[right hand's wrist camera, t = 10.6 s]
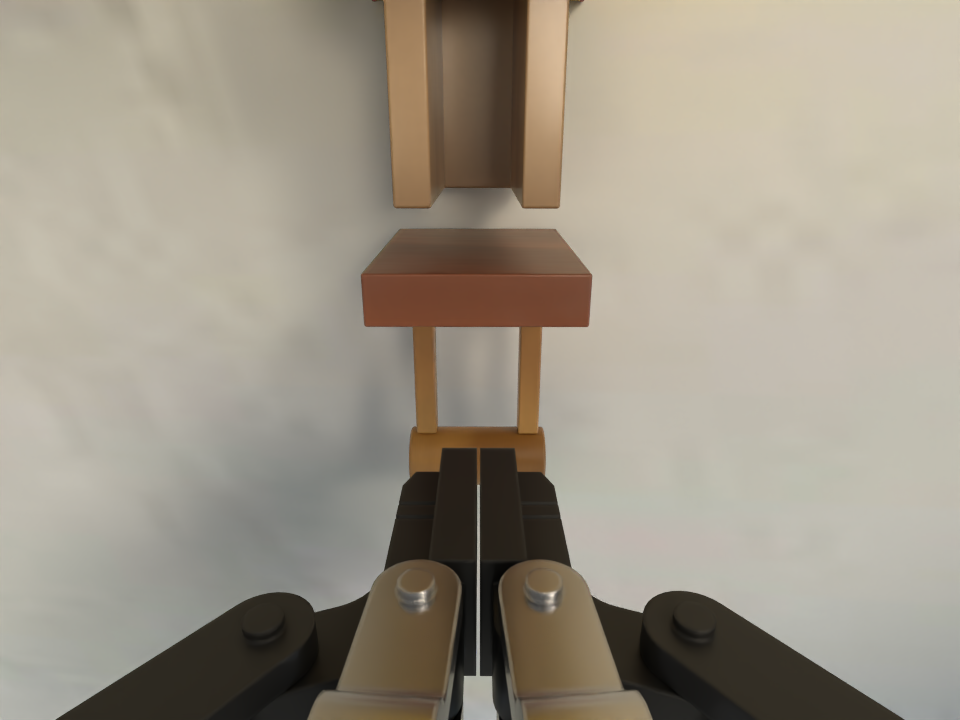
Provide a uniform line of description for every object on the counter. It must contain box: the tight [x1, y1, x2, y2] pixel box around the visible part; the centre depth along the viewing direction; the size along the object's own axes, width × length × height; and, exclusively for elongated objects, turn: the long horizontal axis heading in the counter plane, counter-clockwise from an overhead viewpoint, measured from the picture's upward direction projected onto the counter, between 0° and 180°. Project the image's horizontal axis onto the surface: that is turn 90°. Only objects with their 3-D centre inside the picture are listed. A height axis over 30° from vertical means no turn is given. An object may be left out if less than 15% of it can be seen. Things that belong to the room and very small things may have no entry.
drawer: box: [361, 0, 592, 485], centre depth 14 cm, size 23×5×7 cm, turn 0°
